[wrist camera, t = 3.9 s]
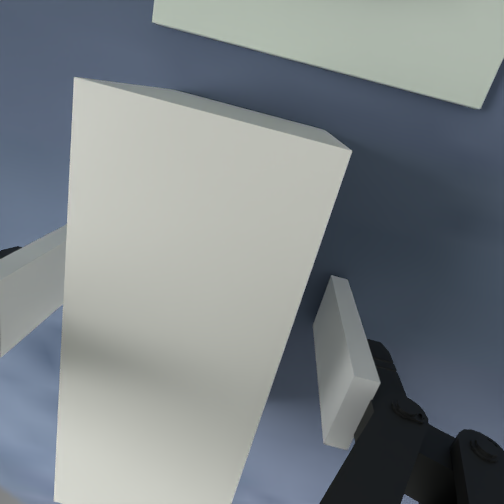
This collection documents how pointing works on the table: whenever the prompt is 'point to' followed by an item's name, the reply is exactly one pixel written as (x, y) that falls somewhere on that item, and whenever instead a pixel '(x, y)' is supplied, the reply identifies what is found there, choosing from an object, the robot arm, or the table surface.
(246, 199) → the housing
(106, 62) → the table surface
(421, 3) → the plate
